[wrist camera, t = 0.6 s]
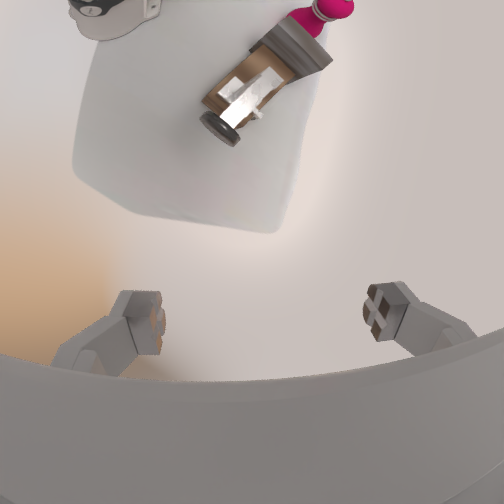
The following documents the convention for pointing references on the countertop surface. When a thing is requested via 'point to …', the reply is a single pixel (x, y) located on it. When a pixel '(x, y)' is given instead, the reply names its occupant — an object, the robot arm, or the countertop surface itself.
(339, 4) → the pepper mill
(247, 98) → the plunger
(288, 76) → the stand
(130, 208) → the countertop surface
